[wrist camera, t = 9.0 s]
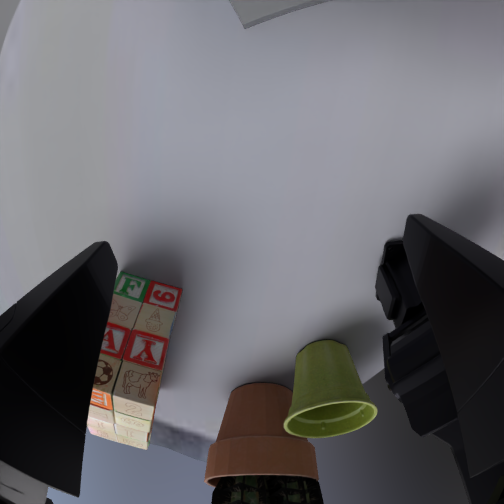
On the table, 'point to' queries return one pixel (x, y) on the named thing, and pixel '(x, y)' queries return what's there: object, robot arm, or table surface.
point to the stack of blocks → (132, 360)
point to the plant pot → (327, 393)
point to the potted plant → (261, 452)
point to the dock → (267, 9)
